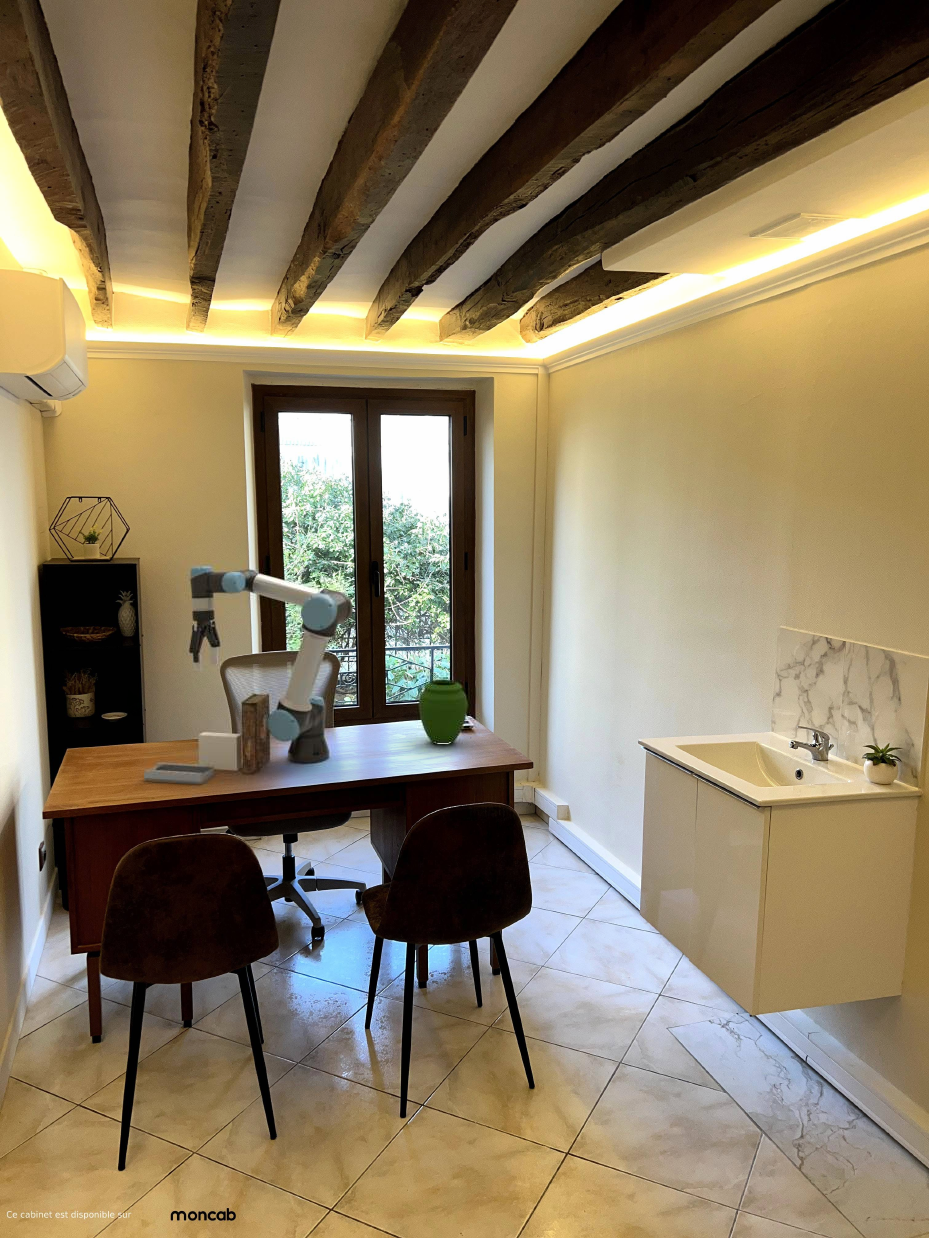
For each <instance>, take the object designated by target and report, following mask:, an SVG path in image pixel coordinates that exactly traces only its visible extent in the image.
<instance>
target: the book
mask: <svg viewBox="0 0 929 1238" xmlns="http://www.w3.org/2000/svg"><path fill="white" fill-rule="evenodd" d="M270 714H271V713H270V694H269V693H266V694H258V693H254V692H253V693H252V694H250V696H248V697H246V698H245V699H244V700H242V701H241V752H242V774H244V775H257V774H259V773H260V772H261V771H262V770H263V769H264V768H265V767H266V766H267V765H268V763H269V762H270V760H271V741H270V740H271V736H270V735H271V732H270V731H269V729H268V718H269V716H270Z"/></svg>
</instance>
